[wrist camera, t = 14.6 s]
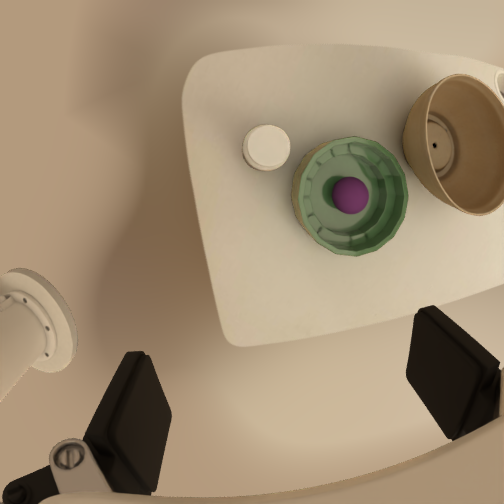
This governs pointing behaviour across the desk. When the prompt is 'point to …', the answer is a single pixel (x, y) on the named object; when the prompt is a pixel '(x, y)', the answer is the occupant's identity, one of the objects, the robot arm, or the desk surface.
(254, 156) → the pill bottle
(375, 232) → the bowl
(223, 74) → the desk surface
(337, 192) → the ball
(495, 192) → the planter bowl
